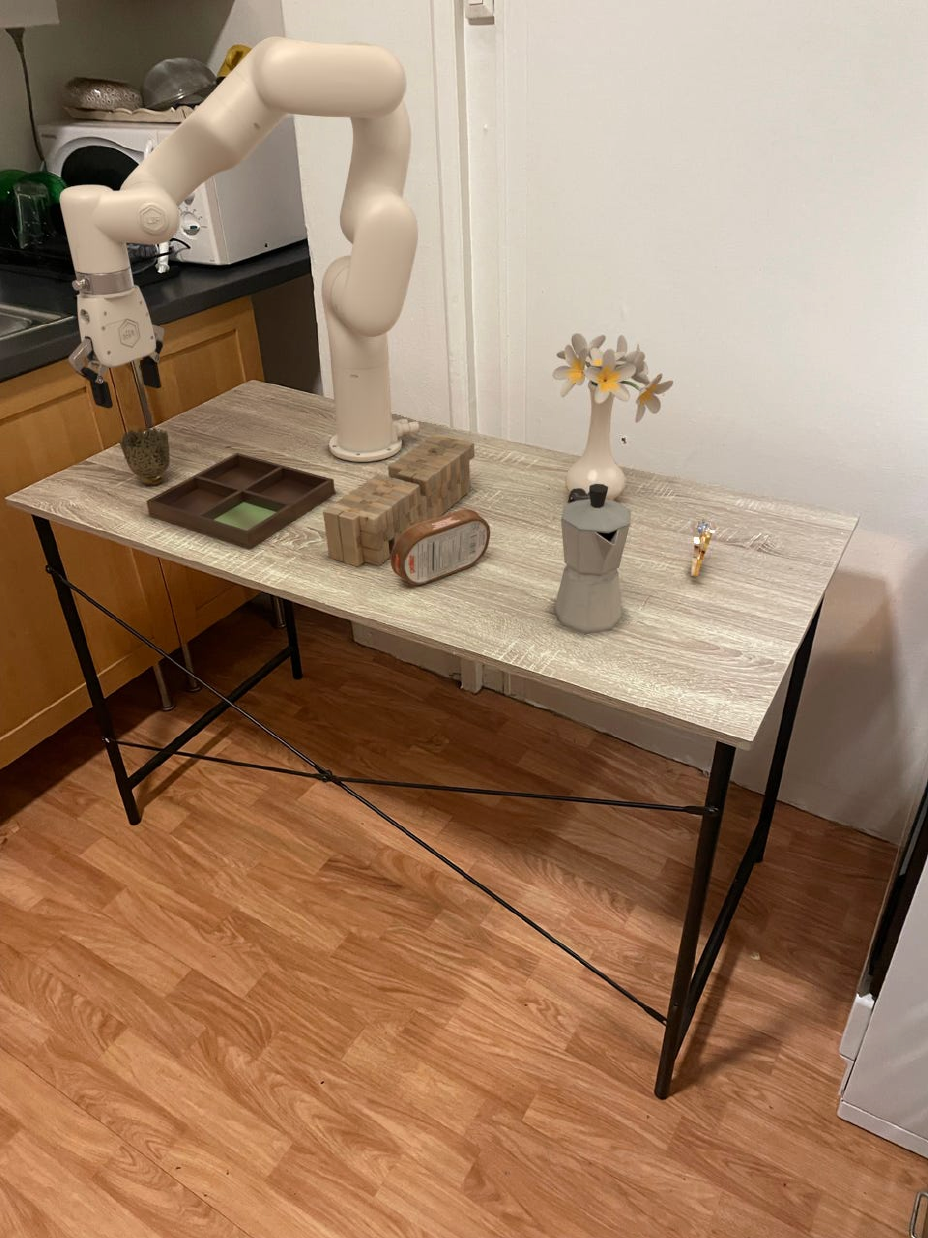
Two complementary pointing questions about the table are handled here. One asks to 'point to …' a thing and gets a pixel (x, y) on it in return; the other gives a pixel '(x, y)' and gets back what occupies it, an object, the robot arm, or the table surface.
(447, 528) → the tin
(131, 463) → the cup
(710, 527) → the ring
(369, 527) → the block tower
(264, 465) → the grid
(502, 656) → the table surface
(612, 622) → the coffee maker
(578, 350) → the flower vase
